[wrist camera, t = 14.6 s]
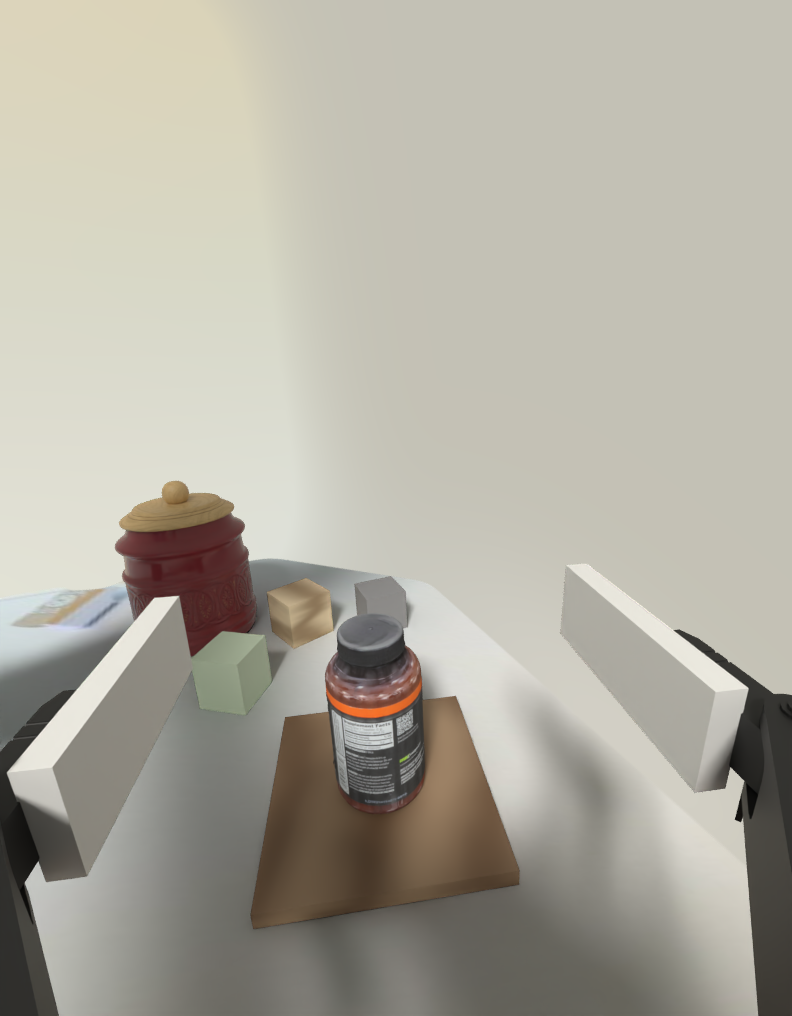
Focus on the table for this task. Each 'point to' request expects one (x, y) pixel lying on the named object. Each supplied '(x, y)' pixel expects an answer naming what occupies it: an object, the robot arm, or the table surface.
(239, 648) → the sage block
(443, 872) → the plate
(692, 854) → the table surface
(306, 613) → the beech block
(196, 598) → the canister
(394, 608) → the grey block
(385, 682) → the supplement bottle
